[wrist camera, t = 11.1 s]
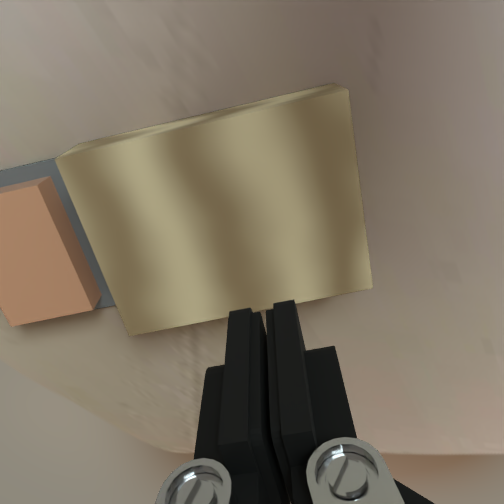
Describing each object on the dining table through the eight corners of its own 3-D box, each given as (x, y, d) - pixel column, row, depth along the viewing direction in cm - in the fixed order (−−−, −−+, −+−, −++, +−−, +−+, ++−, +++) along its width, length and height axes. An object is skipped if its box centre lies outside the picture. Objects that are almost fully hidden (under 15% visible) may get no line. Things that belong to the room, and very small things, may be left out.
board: (334, 82, 26) (348, 89, 23) (358, 259, 31) (373, 288, 28) (79, 143, 28) (54, 159, 24) (142, 303, 33) (129, 336, 29)
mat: (82, 151, 28) (80, 152, 28) (139, 298, 33) (139, 300, 32) (-50, 182, 29) (-53, 183, 28) (25, 321, 33) (23, 323, 33)
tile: (-56, 206, 27) (-37, 196, 29) (11, 326, 31) (23, 310, 33) (36, 185, 26) (50, 175, 28) (93, 310, 30) (101, 294, 32)
